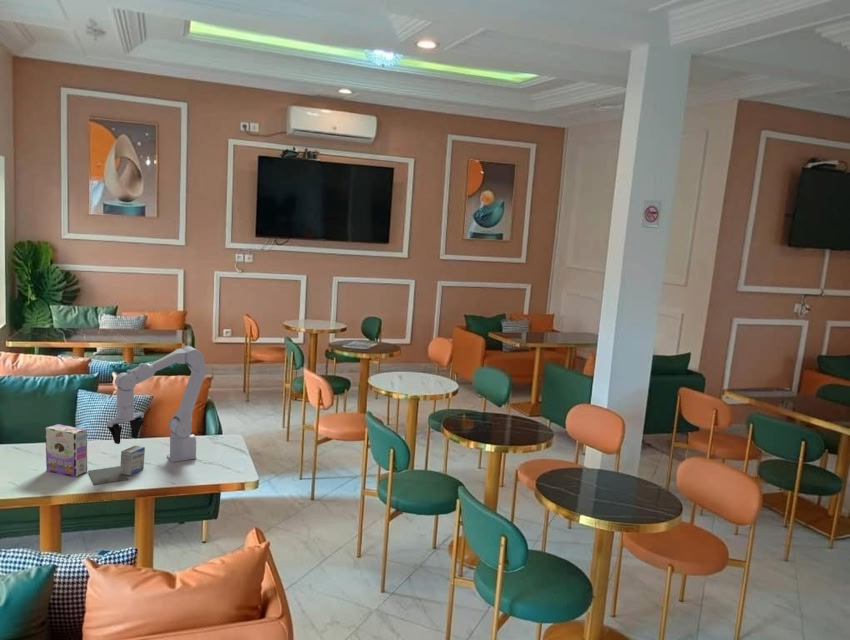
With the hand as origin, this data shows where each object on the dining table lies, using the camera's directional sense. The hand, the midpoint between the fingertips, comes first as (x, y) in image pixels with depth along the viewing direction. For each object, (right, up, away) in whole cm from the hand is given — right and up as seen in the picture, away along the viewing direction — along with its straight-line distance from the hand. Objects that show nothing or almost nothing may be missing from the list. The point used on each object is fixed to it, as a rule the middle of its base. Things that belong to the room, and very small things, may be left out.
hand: (126, 440), depth 244 cm
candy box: (-18, -10, -7) cm, 22 cm away
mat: (-3, -11, -8) cm, 14 cm away
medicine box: (+4, -11, -4) cm, 12 cm away
